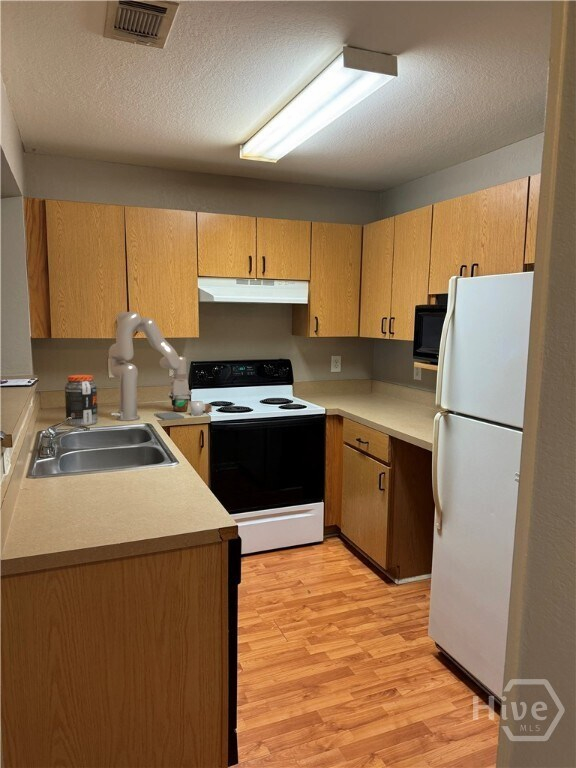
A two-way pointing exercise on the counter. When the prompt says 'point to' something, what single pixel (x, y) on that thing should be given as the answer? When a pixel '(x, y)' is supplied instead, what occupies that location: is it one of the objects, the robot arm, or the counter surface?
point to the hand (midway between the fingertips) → (179, 405)
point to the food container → (181, 403)
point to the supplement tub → (81, 400)
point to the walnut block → (208, 408)
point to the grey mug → (197, 408)
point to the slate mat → (169, 415)
